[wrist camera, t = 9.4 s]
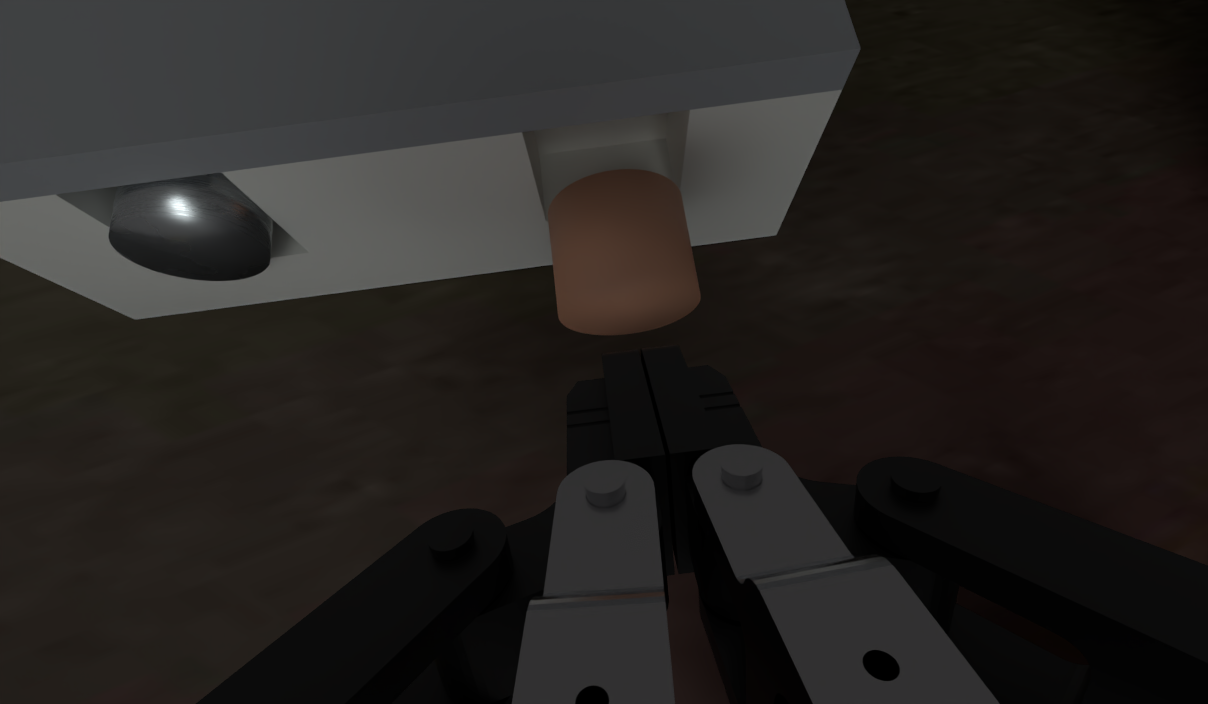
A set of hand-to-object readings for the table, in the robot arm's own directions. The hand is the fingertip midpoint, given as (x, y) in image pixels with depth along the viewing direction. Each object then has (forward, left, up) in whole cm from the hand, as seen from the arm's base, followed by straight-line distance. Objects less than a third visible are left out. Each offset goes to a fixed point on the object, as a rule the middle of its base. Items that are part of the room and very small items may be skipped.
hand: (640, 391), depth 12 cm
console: (-3, -15, -11) cm, 19 cm away
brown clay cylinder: (-4, -5, -8) cm, 10 cm away
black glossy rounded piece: (+6, -16, -8) cm, 19 cm away
